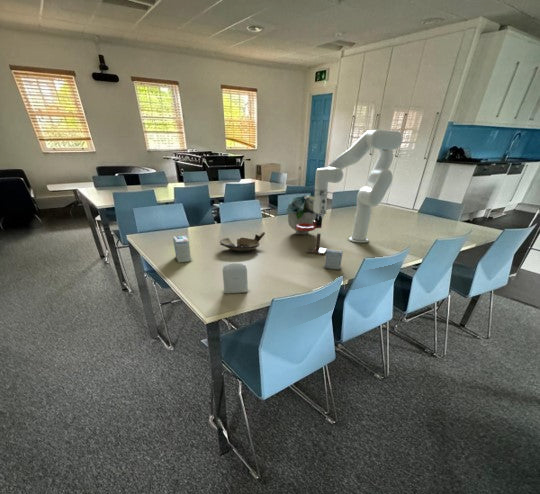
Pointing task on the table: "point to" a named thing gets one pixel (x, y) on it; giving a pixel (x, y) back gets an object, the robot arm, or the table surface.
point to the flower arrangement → (301, 212)
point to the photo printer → (235, 278)
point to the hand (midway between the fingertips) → (318, 225)
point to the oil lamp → (243, 243)
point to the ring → (307, 226)
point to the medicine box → (333, 259)
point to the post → (317, 247)
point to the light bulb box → (182, 249)
